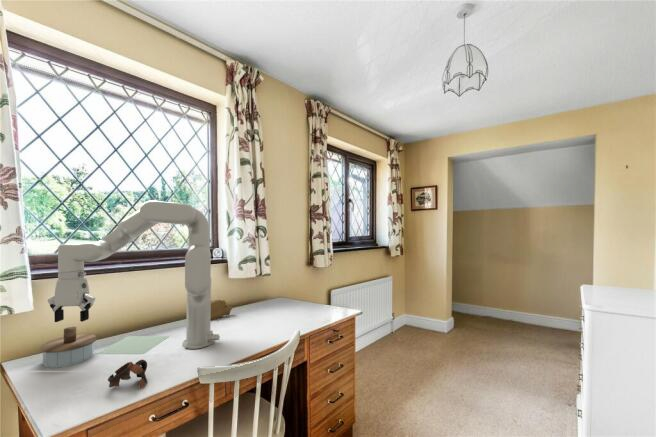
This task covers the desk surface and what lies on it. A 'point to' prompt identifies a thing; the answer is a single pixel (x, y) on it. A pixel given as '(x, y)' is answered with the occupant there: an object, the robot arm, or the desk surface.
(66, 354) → the slate bowl
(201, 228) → the robot arm
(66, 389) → the desk surface
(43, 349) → the walnut lid
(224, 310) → the wooden carving
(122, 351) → the sage mat
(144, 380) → the brown animal figurine
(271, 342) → the desk surface
